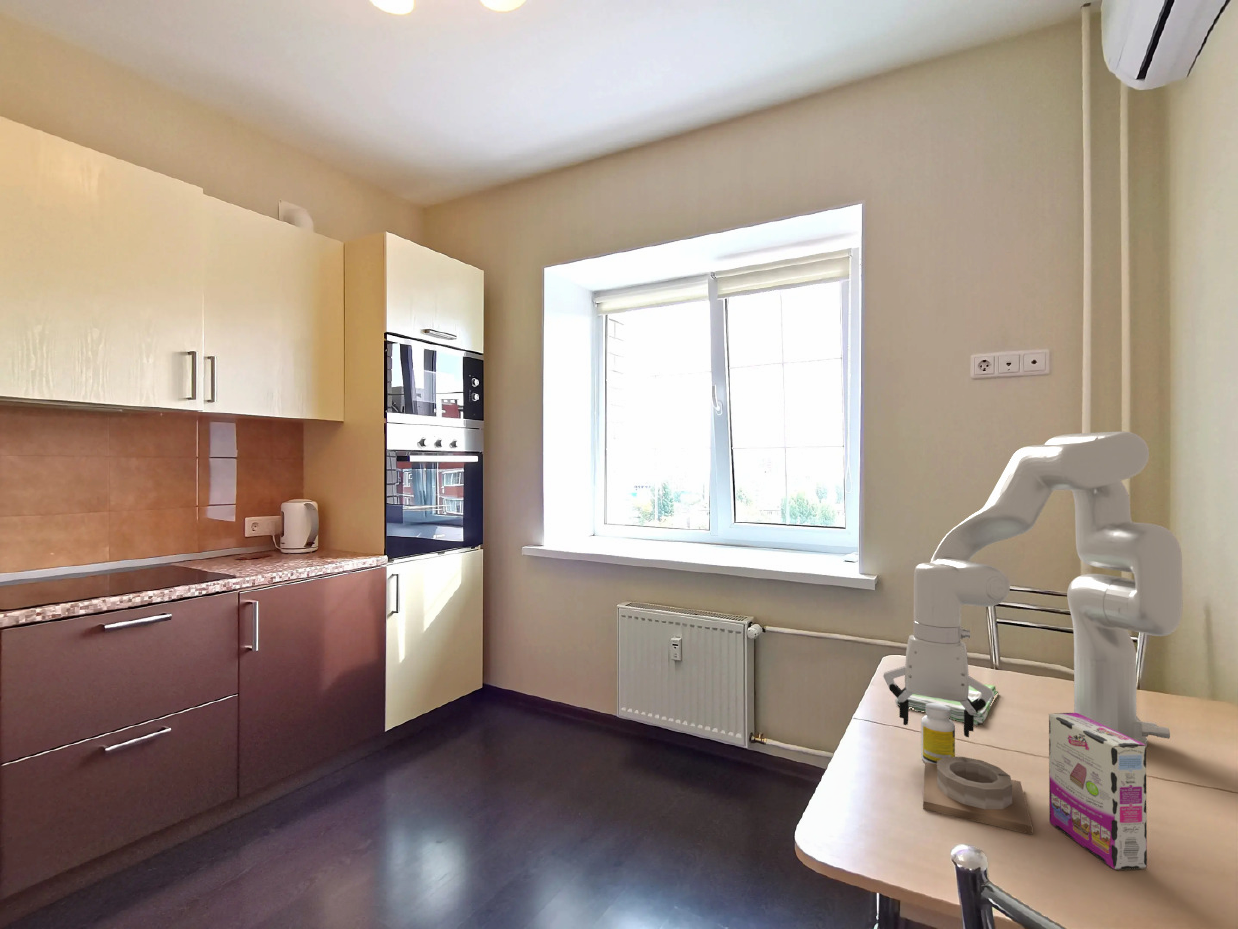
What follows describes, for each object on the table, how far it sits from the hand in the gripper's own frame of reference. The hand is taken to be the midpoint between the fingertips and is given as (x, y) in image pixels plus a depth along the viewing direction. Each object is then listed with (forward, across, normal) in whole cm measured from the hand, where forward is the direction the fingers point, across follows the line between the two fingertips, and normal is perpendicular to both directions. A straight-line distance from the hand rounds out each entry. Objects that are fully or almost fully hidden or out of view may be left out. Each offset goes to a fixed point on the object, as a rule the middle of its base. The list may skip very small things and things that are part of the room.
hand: (935, 728), depth 108 cm
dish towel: (+6, -2, -34) cm, 35 cm away
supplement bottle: (+6, 0, 0) cm, 6 cm away
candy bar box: (+6, -20, +16) cm, 26 cm away
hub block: (+6, -6, +11) cm, 13 cm away
